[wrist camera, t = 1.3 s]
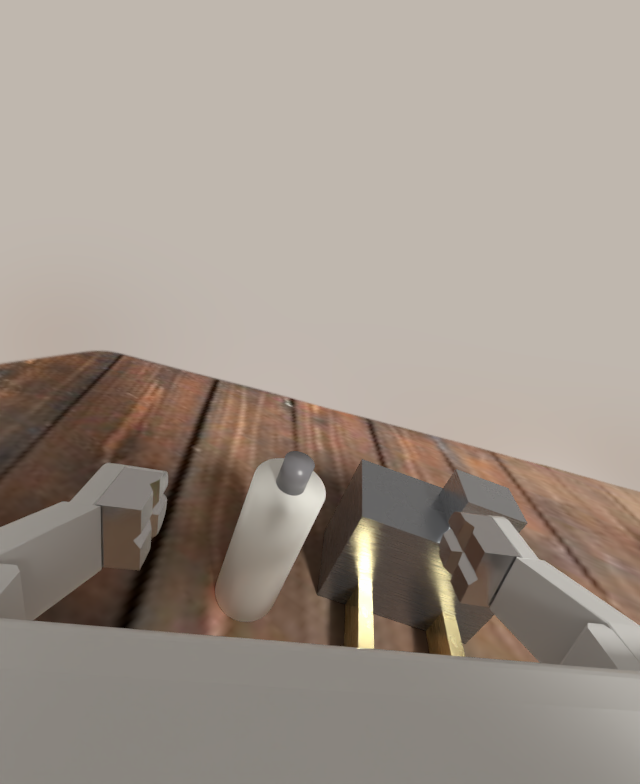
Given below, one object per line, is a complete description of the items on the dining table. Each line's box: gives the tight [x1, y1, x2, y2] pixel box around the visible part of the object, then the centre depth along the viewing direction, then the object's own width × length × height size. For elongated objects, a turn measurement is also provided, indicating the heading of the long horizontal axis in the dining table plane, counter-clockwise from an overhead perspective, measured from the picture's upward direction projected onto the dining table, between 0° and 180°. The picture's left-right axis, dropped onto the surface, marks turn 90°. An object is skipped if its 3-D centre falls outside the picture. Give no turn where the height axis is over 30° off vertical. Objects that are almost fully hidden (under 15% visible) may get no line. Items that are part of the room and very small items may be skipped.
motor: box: [317, 459, 527, 657], centre depth 29 cm, size 16×13×13 cm
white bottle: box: [215, 451, 326, 622], centre depth 26 cm, size 5×5×14 cm
